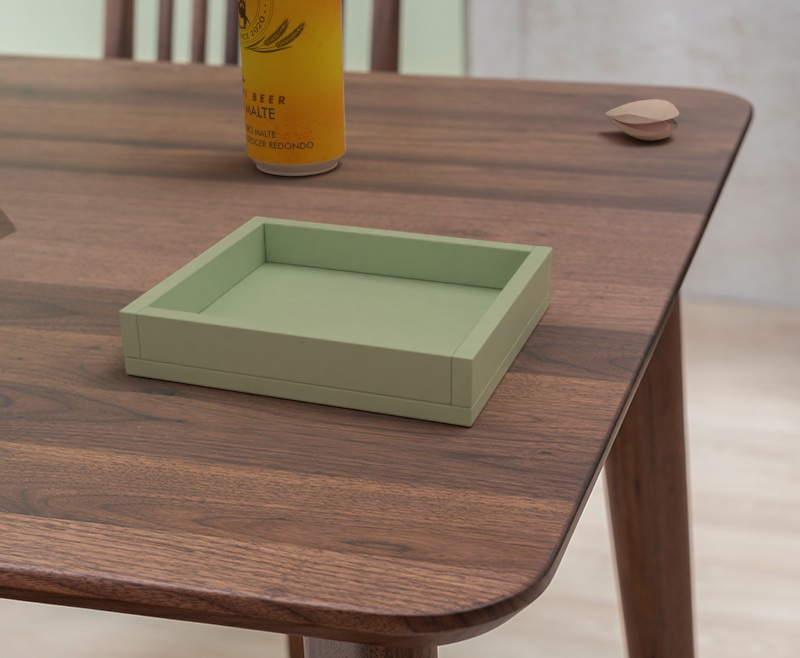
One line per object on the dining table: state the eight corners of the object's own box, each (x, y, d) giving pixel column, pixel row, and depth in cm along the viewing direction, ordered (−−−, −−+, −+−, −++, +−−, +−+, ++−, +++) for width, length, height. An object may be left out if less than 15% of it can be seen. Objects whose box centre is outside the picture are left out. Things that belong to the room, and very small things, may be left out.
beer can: (233, 159, 79) (216, -95, 73) (322, 147, 82) (313, -101, 75) (269, 183, 74) (254, -87, 68) (362, 170, 77) (356, -92, 70)
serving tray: (125, 374, 51) (117, 310, 50) (258, 270, 62) (255, 215, 60) (471, 427, 46) (472, 359, 45) (550, 305, 57) (553, 247, 56)
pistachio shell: (660, 149, 81) (664, 110, 79) (590, 138, 83) (592, 100, 82) (686, 134, 84) (690, 96, 83) (618, 125, 86) (620, 88, 85)
